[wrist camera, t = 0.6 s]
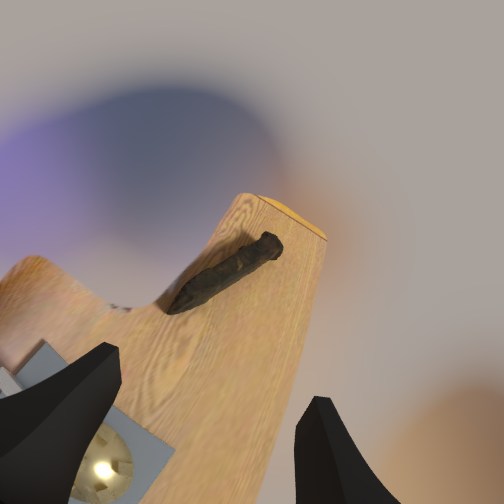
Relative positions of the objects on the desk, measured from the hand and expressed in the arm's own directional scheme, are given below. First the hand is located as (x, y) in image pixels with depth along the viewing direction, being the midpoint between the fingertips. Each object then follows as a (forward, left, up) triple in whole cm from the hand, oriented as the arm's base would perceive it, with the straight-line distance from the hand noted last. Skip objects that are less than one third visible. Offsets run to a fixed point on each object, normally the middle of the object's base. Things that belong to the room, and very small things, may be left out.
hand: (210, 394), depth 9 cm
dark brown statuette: (+20, +2, -20) cm, 28 cm away
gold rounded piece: (-7, +5, -18) cm, 20 cm away
